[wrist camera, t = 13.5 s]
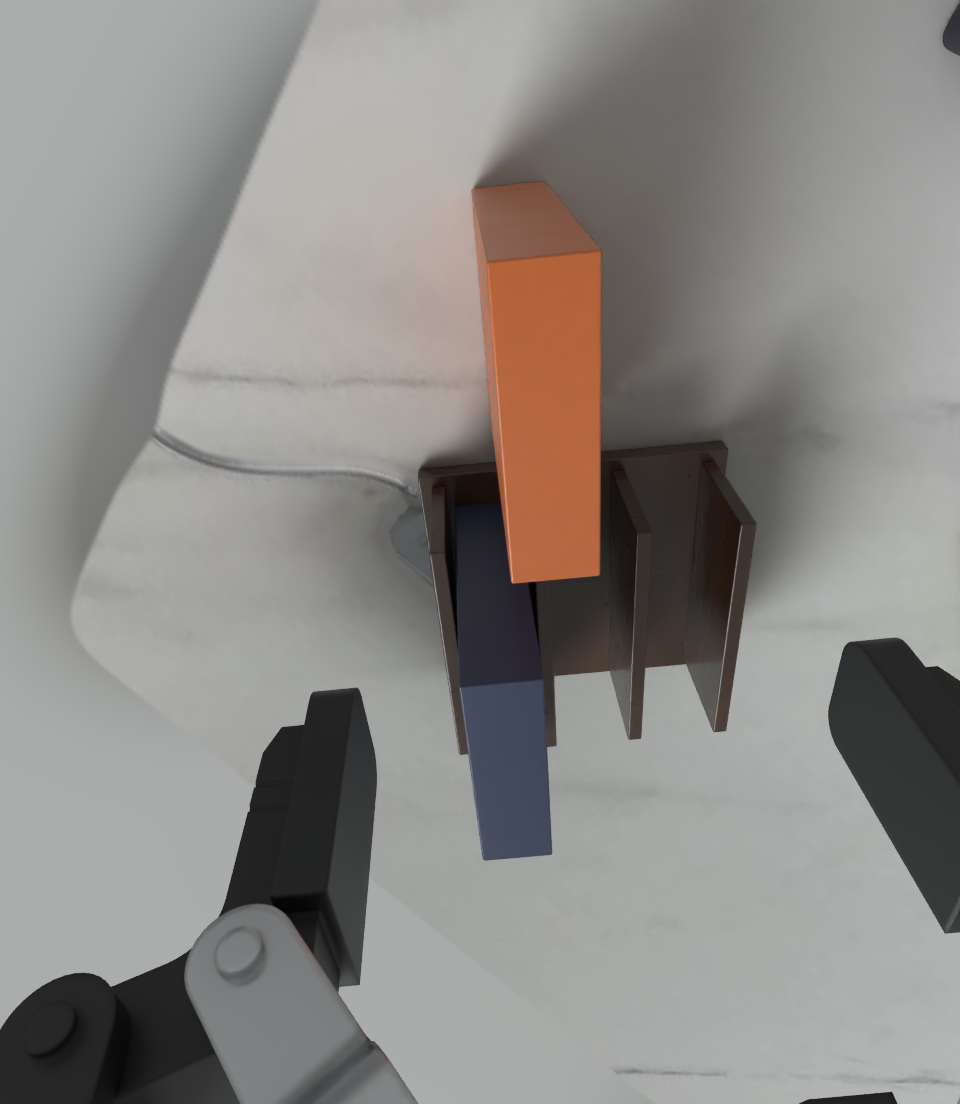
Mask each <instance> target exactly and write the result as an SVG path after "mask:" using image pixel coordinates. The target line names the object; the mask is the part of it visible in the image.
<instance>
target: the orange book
mask: <svg viewBox="0 0 960 1104" xmlns="http://www.w3.org/2000/svg"><path fill="white" fill-rule="evenodd" d="M472 203H473V215H474V226H475V238H476V250H477V262H478V273H479V285H480V297H481V309H482V320H483V332H484V344H485V356H486V367H487V379H488V391H489V403H490V414H491V426H492V434H493V442H494V450H495V458H496V466H497V474H498V482H499V490H500V498H501V505H502V513H503V521H504V529H505V537H506V545H507V553H508V561H509V569H510V577H511V582H512V583H513V584H514V583H525V582H536V581H546V580H557V579H567V578H578V577H589V576H598V575H600V511H601V299H602V252H601V250H600V248H599V247H598V246H597V245H596V244H595V242H594V241H593V240H592V239H591V237H590V236H589V235H588V234H587V232H586V231H585V230H584V229H583V227H582V226H581V225H580V224H579V222H578V221H577V220H576V219H575V217H574V216H573V215H572V214H571V213H570V211H569V210H568V209H567V208H566V206H565V205H564V204H563V203H562V201H561V200H560V199H559V198H558V196H557V195H556V194H555V193H554V191H553V190H552V189H551V188H550V186H549V185H548V184H547V183H546V182H545V181H542V182H532V183H523V184H513V185H503V186H493V187H484V188H474V189H472Z"/></svg>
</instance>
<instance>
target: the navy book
mask: <svg viewBox="0 0 960 1104" xmlns="http://www.w3.org/2000/svg"><path fill="white" fill-rule="evenodd" d="M455 531H456V574H457V616H458V659H459V689H460V697H461V704H462V711H463V719H464V726H465V733H466V740H467V748H468V755H469V762H470V769H471V777H472V784H473V791H474V798H475V806H476V813H477V820H478V828H479V835H480V842H481V849H482V857H483V860H497V859H508V858H520V857H531V856H543V855H551V854H552V839H551V819H550V799H549V778H548V758H547V738H546V717H545V697H544V678H543V672H542V666H541V660H540V653H539V647H538V641H537V635H536V628H535V622H534V616H533V610H532V603H531V597H530V591H529V585H528V582H525V583H514V584H513V583H512V582H511V577H510V569H509V561H508V553H507V545H506V537H505V529H504V521H503V513H502V505H501V502H495V503H484V504H473V505H462V506H455Z"/></svg>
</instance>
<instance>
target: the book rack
mask: <svg viewBox="0 0 960 1104" xmlns="http://www.w3.org/2000/svg"><path fill="white" fill-rule="evenodd" d="M727 455H728V448H727V447H726V445H725V444H724V442H723V441H716V442H705V443H695V444H684V445H673V446H663V447H652V448H641V449H631V450H620V451H609V452H601V511H600V575H598V576H589V577H578V578H567V579H557V580H546V581H536V582H528V585H529V591H530V597H531V603H532V610H533V616H534V622H535V628H536V635H537V641H538V647H539V653H540V660H541V666H542V672H543V678H544V697H545V717H546V738H547V747H553V746H556V745H557V742H556V716H555V690H554V676H559V675H570V674H581V673H593V672H604V671H610V674H611V677H612V681H613V685H614V689H615V692H616V696H617V700H618V703H619V707H620V711H621V715H622V718H623V722H624V726H625V729H626V733H627V737H628V739H629V740H632V739H641V733H642V715H643V696H644V678H645V668H648V667H659V666H670V665H681V664H686V665H687V667H688V670H689V672H690V675H691V677H692V680H693V682H694V685H695V687H696V690H697V692H698V695H699V697H700V700H701V702H702V705H703V707H704V710H705V712H706V715H707V717H708V720H709V722H710V725H711V727H712V730H713V732H722V731H726V727H727V721H728V714H729V707H730V700H731V693H732V687H733V680H734V673H735V666H736V659H737V653H738V646H739V639H740V632H741V626H742V619H743V612H744V605H745V598H746V592H747V585H748V578H749V571H750V564H751V558H752V551H753V544H754V537H755V530H756V521H755V520H754V519H753V517H752V516H751V514H750V513H749V511H748V510H747V508H746V507H745V505H744V504H743V502H742V501H741V499H740V498H739V496H738V495H737V493H736V492H735V490H734V489H733V487H732V486H731V484H730V483H729V481H728V480H727V478H726V477H725V472H726V464H727ZM418 482H419V489H420V495H421V502H422V509H423V516H424V522H425V529H426V536H427V543H428V549H429V556H430V563H431V570H432V576H433V583H434V590H435V597H436V603H437V610H438V617H439V624H440V630H441V637H442V644H443V650H444V657H445V664H446V671H447V677H448V684H449V690H450V697H451V703H452V710H453V717H454V724H455V730H456V737H457V744H458V751H459V754H460V755H463V754H468V748H467V740H466V733H465V726H464V719H463V711H462V704H461V697H460V689H459V659H458V616H457V574H456V531H455V506H462V505H473V504H484V503H495V502H501V498H500V490H499V482H498V474H497V466H496V462H492V463H482V464H471V465H461V466H450V467H439V468H429V469H419V471H418Z"/></svg>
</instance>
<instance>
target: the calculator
mask: <svg viewBox="0 0 960 1104" xmlns="http://www.w3.org/2000/svg"><path fill="white" fill-rule="evenodd" d="M943 43H944V46H945V47H946V48H947V49H948V50H950V51H951V52H953V53H955V54H957V55H959V56H960V4H959V6H958V8H957V10H956V11H955V13H954V15H953V16H952V18H951V20H950V22H949V23H948V25H947V27H946V29H945V31H944V34H943Z"/></svg>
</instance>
